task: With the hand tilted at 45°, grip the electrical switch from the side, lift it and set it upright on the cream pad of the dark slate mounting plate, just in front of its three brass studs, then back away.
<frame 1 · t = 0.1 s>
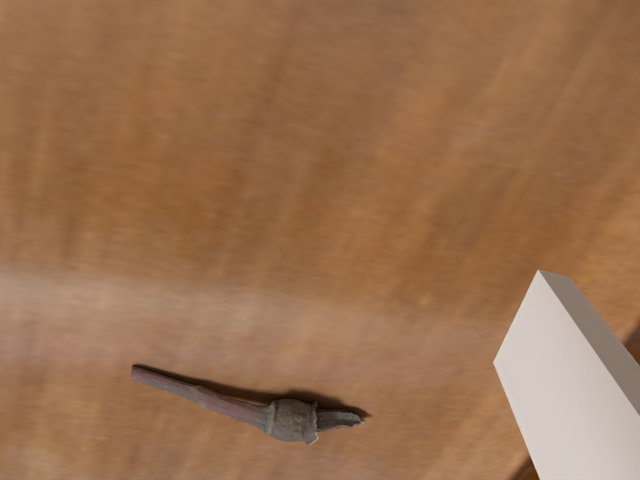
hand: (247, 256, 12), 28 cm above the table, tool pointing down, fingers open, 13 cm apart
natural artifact: (249, 389, 50), on the table
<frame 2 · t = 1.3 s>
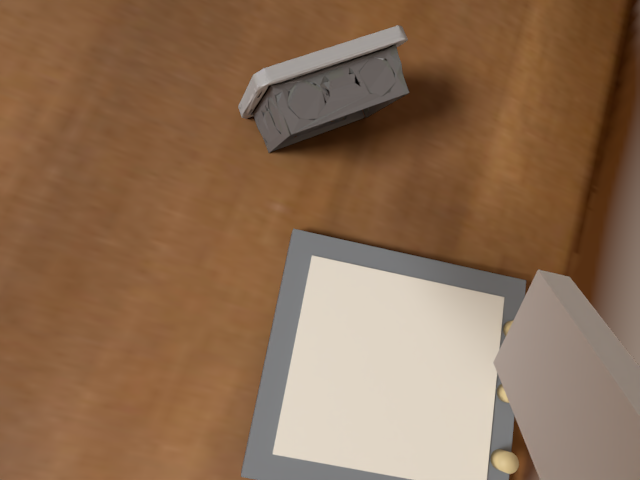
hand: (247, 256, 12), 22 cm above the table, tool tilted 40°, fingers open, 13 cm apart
mounting plate: (389, 370, 34), on the table
electrical switch: (314, 122, 37), on the table
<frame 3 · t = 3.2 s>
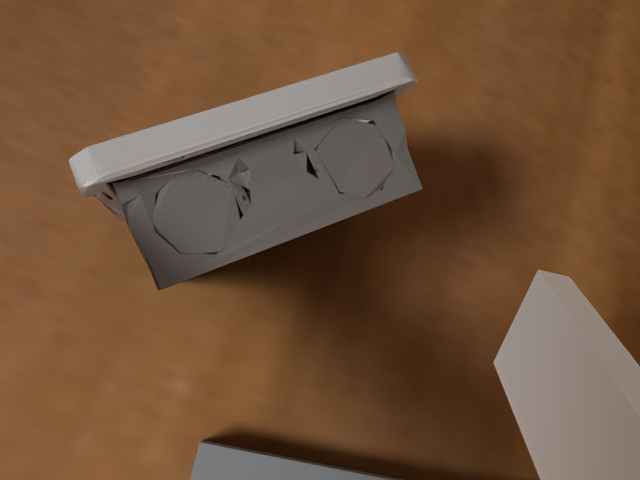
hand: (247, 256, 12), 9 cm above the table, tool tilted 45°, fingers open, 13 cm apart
electrical switch: (256, 223, 22), on the table
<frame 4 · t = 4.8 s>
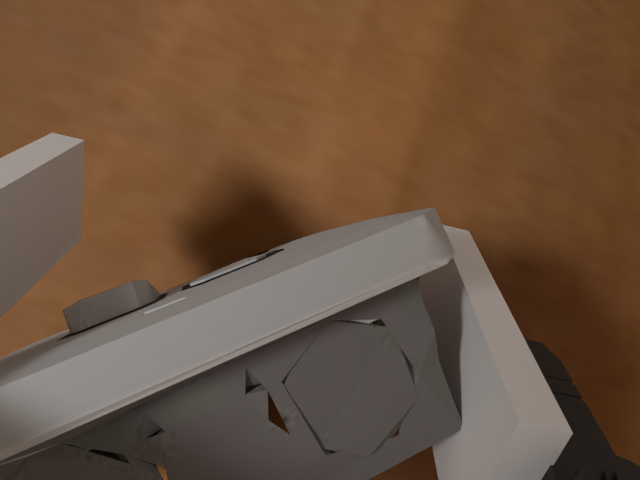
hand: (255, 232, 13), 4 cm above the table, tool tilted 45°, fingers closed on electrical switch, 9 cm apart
electrical switch: (218, 371, 16), on the table, touching gripper
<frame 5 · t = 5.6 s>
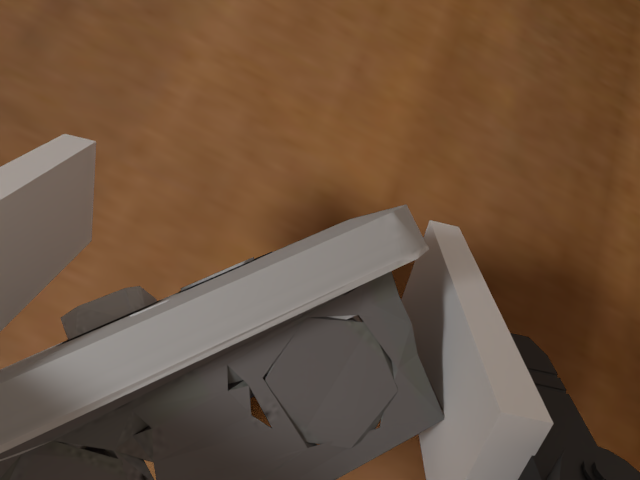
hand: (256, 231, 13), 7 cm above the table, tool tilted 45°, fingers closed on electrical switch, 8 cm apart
electrical switch: (220, 375, 16), point 3 cm above the table, touching gripper
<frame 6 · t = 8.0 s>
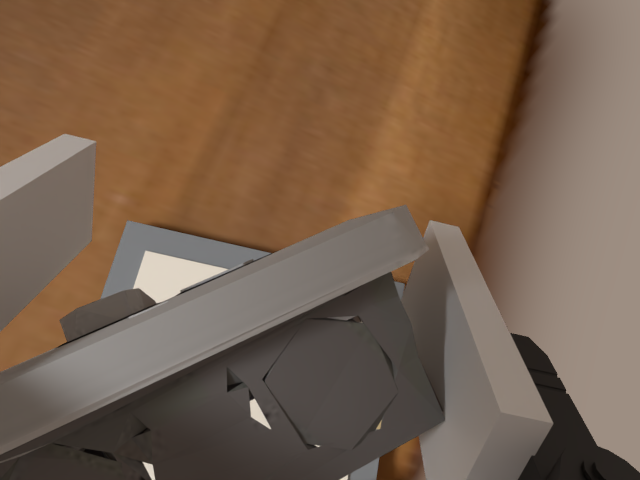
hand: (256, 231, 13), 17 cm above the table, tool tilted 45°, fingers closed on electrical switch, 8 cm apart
mounting plate: (236, 388, 28), on the table
electrical switch: (221, 377, 16), point 13 cm above the table, touching gripper
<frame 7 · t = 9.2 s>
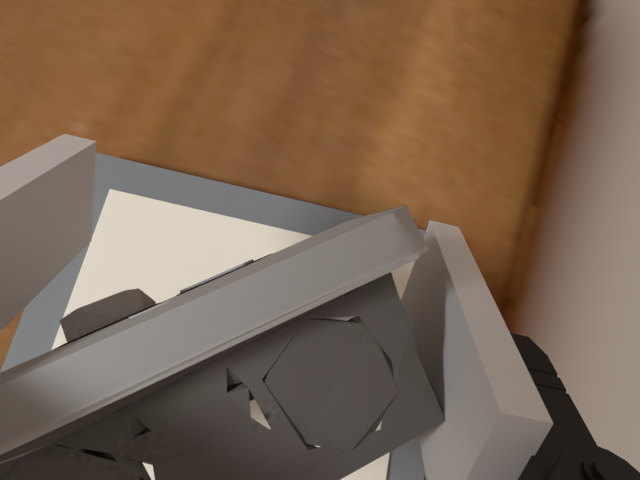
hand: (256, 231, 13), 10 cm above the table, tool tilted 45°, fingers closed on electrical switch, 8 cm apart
mounting plate: (231, 373, 21), on the table
electrical switch: (221, 377, 16), point 5 cm above the table, touching gripper
when the fingers open (7 cm above the table, at t = 10.3 s): electrical switch stays where it is, resting on mounting plate.
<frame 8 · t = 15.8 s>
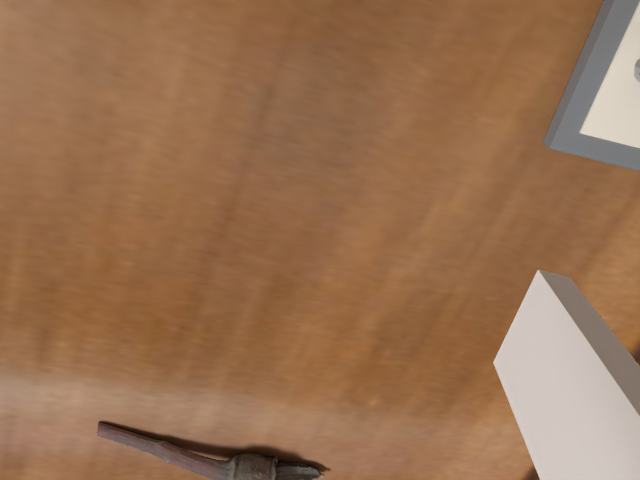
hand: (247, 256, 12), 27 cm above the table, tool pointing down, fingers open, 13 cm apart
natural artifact: (212, 443, 52), on the table
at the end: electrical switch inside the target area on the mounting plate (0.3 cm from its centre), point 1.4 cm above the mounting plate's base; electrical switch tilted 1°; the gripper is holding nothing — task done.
